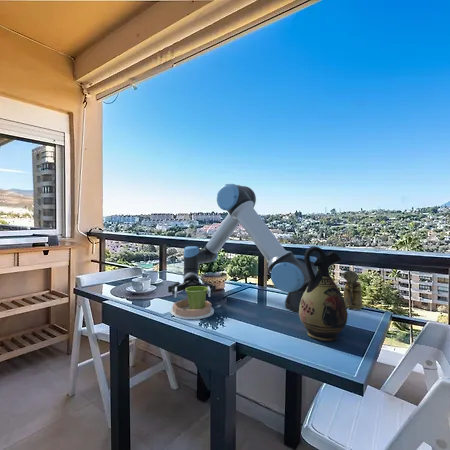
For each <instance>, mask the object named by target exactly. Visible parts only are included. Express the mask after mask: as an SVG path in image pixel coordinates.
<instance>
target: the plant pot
mask: <svg viewBox="0 0 450 450" xmlns="http://www.w3.org/2000/svg"><path fill="white" fill-rule="evenodd" d="M207 290H208V288H207V287H204V286H193V287H188V288H186V289H185V291H186V294H187V299H188V302H189V308H190V309H193V310H194V309H201V308H204V307H205V300H207V299H206V297H207V294H208V293H207ZM185 291H184V292H185Z"/></svg>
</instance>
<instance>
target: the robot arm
mask: <svg viewBox="0 0 450 450" xmlns="http://www.w3.org/2000/svg"><path fill="white" fill-rule="evenodd" d="M256 197H257V196H256V194H255V192H254V190H253V189H252V188H250V187H249V186H246V185H240V184H235V183H227V184H223V185H222V186H221V187H220V188H219V190H218V191H217V193H216V203H217V206H218V207H219V208H220V209H221V210H223V211H227V215H226V216H225V218H224V219H223V221H222V222H221V224H220V225H219V226H218V227H217V229H216V231H215V232H214V233H213V235H212V236H211V238H210V239H209V241H208V242H207V243H206V244H205V246H204V247H203V248H201V249H200V248H199V246H191V245H190V246H189V245H188V246H185V247H184V249H183V276H182V278H183V282H182V283H181V282H179V281H176V282H175V283H173V284H171V285H169V286H168V287H167V289H168V290H167V293H171V294H172V296H173V295H174V298H175V299H177V298H178V292H182V291H184V292H185V289H186V288H188V287H193V286H204V287H207V288H208V290H207V293H206V294H207V296H208V298H210V297H211V294H213V292H214V293H215V292H216V290H217V287H216V286H217V285H215V284H212V283H209V282H207V281H204V282H203V283H202V282H201V281H200V278H199V277H200V276H199V272H200V271H199V268H200V265H201V264H205V263H212V262H214V261H216V260H217V259H218V256H219V252H220V251H221V249H222V247H223V246H224V245H225V244H226V243H227V242H228V240H229V239H230V238H231V236H232V234H233V233H234V231H236V229H237V228H238V226H239V225H241V226H242V227H243V229H244V230H245V232H246V234H247V235H248V236H249V238H250V239H251V241H253V243H254V244H255V247H257V248H258V250H259V251H260V253H261V254H262V256H263V257H264V258H265V261H267V263H268V266H267V268H268V270H269V272H270V278H271V282H272V284H273V286H274V287H275V288H277V289H278V291H281V292H284V293H287V294H286V298H285V300H284V307H285V309H287V310H289V311H291V312H294V313H299V306H300V302H301V298H302V296H303V294H304V292H305V290H306V289H307V287H308V284H309V280H310V277H309V273H308V270H307V267H306V263H305V259H304V255H299V254H294V253H293V252H292V251H290V250H286V249H285V248H284V246H283V245H282V243H281V242H280V241H279V240H278V238H277V237H276V235H274V233H273V232H272V230H270V228H269V227H268V225H267V224H266V223H265V221H264V220H263V219H262V217H261V216H260V215H259V213H258V212H257V211H256V209H255V205H256V203H257V198H256ZM317 259H318V258H317V257H316V256H311V255H310V263H311V266H312V269H313V272H314V274H315V276H316V274H317V271H318V269H319V267H318V266H315V265H314V263H315V261H316V260H317Z"/></svg>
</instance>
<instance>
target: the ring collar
mask: <svg viewBox="0 0 450 450" xmlns="http://www.w3.org/2000/svg"><path fill="white" fill-rule="evenodd" d="M170 313H171V314H172V315H174V316H176V317H179V318H178V319H180V318H183V319H182V320H188V319H193V320H202V319H206V318H209V317H211V316H212V315H214V313H215V309H214V307H212V302H210V301H208V300H207V299H205V307H204V308H201V309H194V310H193V309H190V308H189V302H188V298H186V299H185V298H184V299H181V300H178V301H175V302H174V303H173V305H172V308H171V309H170V310H169V314H170ZM171 314H170V315H171ZM172 315H171V316H172ZM176 317H175V318H176Z"/></svg>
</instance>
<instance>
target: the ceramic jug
mask: <svg viewBox="0 0 450 450" xmlns="http://www.w3.org/2000/svg"><path fill="white" fill-rule="evenodd" d="M304 252H305V253H304V255H303V256H304V259H305V263H306V267H307V270H308V273H309V277H310V280H309V284H308V287H307V289H306V290H305V292H304V294H303V296H302V298H301V302H300V306H299V312H298V315H299V320H300V322H301V323H302V325H303V326H304V328H305V329H306V331H307V336H308V337H310V338H313V339H315V340H316V339H317V340H319V341H323V342H335V341H337V339H338V336H339V335H340V333H341V332H342V331H343V329H344V328H345V326H346V325H347V323H348V316H349V314H348V309H347V308H346V304H345V301H344V298H343V297H344V295H343V294H342V292H341V290H340V289H339V287H338V285H337V283H335V281H334V280H333V278H332V276H331V275H330V271H329V268H330V267H331V266H333V265H335V264H337V263H341V262H342V258H341V257H340V256H339V255H338V253H336V252H334V251H328V252H327V253H325V251H324V250H323V248H320V247H318V246H309V248H307V249H306V250H305V251H304ZM316 253H317V254H319V257H318V258H317V260H316V261H315V263H314V265H315V266H318V269H317V274H316V276H315V274H314V272H313V269H312V266H311V263H310V256H311V255H312V254H316Z"/></svg>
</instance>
